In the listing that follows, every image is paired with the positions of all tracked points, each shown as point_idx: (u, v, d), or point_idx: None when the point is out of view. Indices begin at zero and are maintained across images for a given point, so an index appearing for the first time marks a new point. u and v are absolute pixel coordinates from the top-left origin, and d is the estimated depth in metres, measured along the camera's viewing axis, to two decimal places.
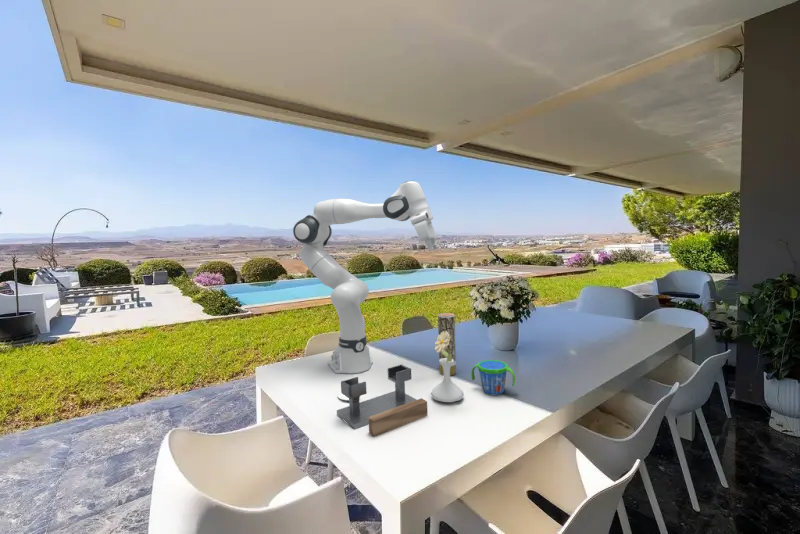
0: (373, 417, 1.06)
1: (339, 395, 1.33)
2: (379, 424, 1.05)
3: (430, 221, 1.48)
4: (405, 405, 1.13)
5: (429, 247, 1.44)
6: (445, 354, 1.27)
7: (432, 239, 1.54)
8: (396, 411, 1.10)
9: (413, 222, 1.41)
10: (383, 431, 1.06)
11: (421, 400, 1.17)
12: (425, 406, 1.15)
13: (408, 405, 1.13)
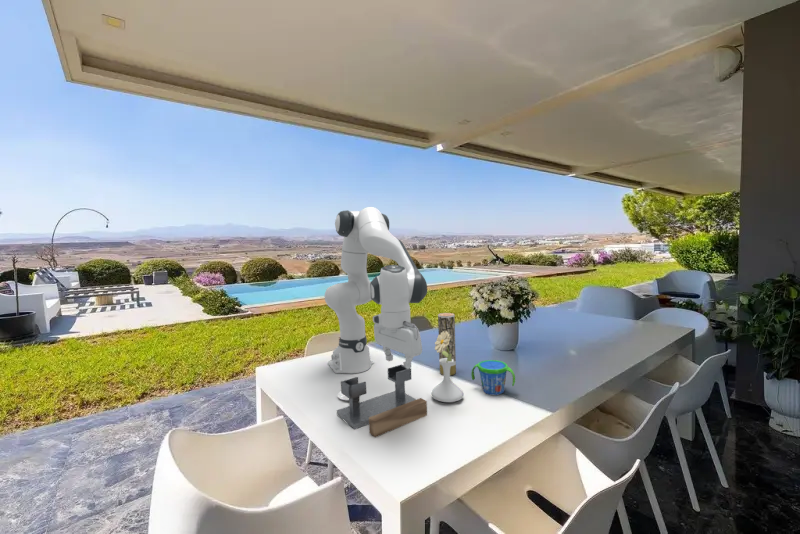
0: (373, 417, 1.06)
1: (339, 395, 1.33)
2: (379, 424, 1.05)
3: (387, 329, 1.08)
4: (405, 405, 1.13)
5: None
6: (445, 354, 1.27)
7: None
8: (396, 411, 1.10)
9: None
10: (383, 431, 1.06)
11: (421, 400, 1.17)
12: (425, 406, 1.16)
13: (408, 405, 1.13)
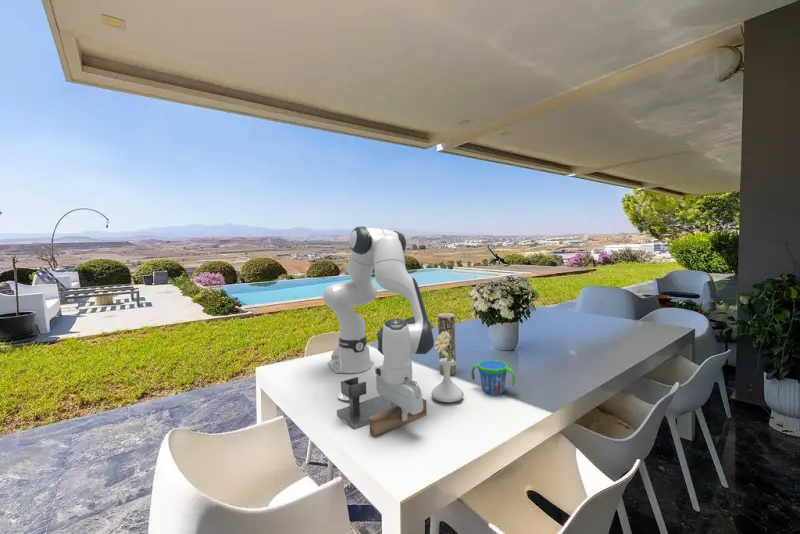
0: (374, 417, 1.06)
1: (339, 395, 1.33)
2: (380, 424, 1.05)
3: (388, 383, 1.09)
4: None
5: None
6: (445, 354, 1.27)
7: None
8: (396, 411, 1.10)
9: None
10: (384, 431, 1.06)
11: None
12: (424, 405, 1.16)
13: None
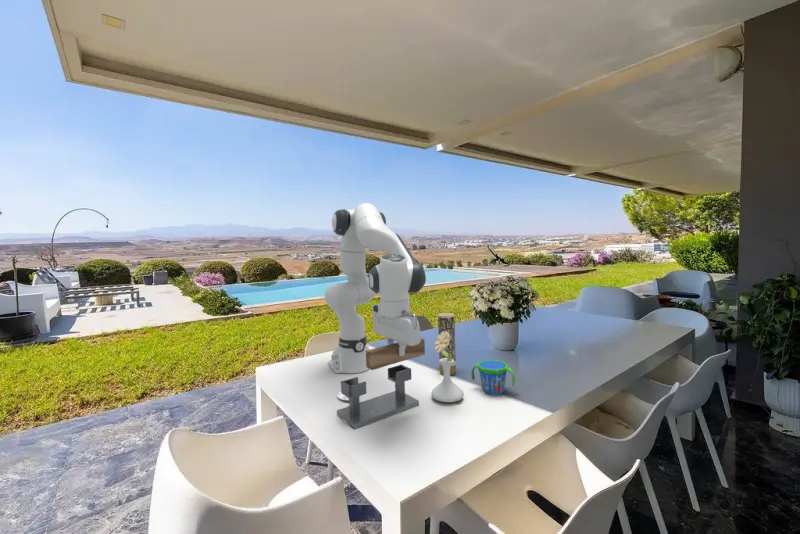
0: (370, 350, 1.05)
1: (339, 395, 1.33)
2: (376, 356, 1.04)
3: (386, 318, 1.08)
4: None
5: None
6: (445, 354, 1.27)
7: None
8: (393, 346, 1.08)
9: None
10: (381, 364, 1.05)
11: None
12: (422, 344, 1.14)
13: None
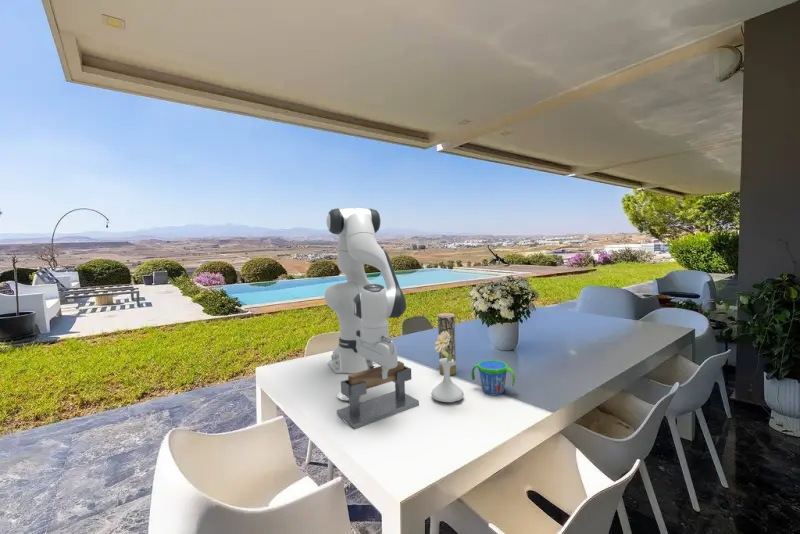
0: (352, 375, 1.15)
1: (339, 395, 1.33)
2: (357, 380, 1.14)
3: (367, 342, 1.18)
4: None
5: None
6: (445, 354, 1.27)
7: None
8: (374, 370, 1.19)
9: None
10: None
11: (398, 362, 1.26)
12: (402, 367, 1.25)
13: None
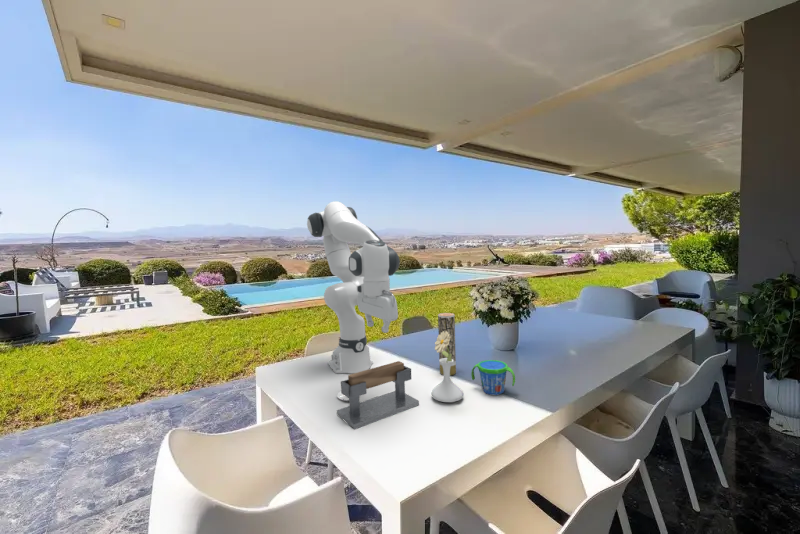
0: (352, 375, 1.15)
1: (338, 395, 1.33)
2: (357, 380, 1.14)
3: (368, 297, 1.20)
4: (383, 366, 1.23)
5: None
6: (445, 354, 1.27)
7: None
8: (374, 370, 1.19)
9: None
10: None
11: (398, 362, 1.26)
12: (402, 367, 1.25)
13: (386, 366, 1.22)
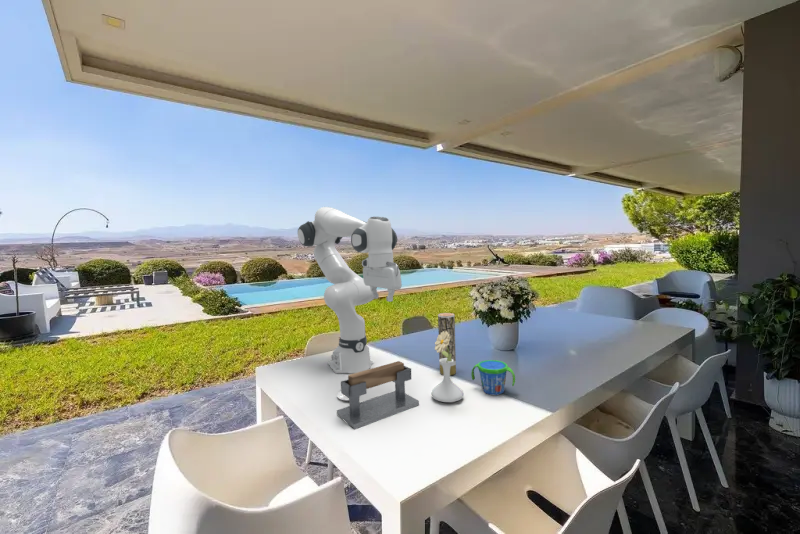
0: (352, 375, 1.15)
1: (338, 395, 1.33)
2: (357, 380, 1.14)
3: (373, 269, 1.29)
4: (383, 366, 1.23)
5: None
6: (445, 354, 1.27)
7: None
8: (374, 370, 1.19)
9: None
10: None
11: (398, 362, 1.26)
12: (402, 367, 1.25)
13: (386, 366, 1.22)
